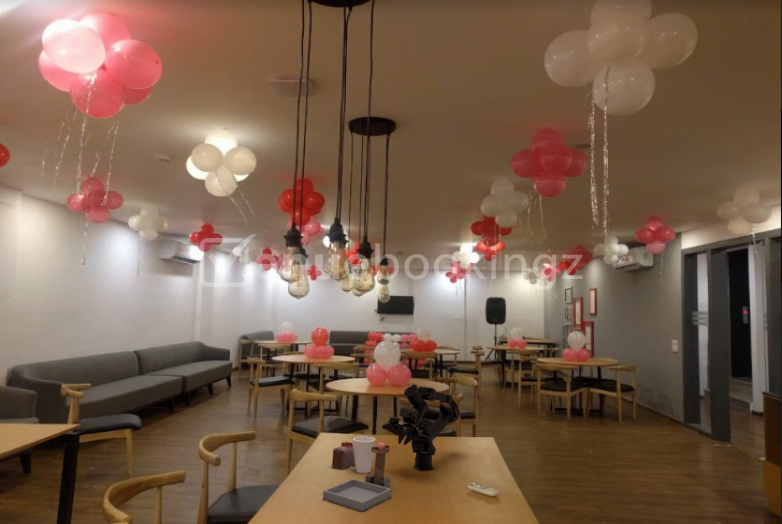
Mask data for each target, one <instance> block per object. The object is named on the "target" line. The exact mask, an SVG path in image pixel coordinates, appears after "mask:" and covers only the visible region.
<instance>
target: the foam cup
mask: <svg viewBox="0 0 782 524" xmlns="http://www.w3.org/2000/svg"><path fill="white" fill-rule="evenodd" d="M352 443H353V448H354V458H355V464H354V467H355V472H356V473H358V474H368V472H369V473H370V472H371V471H372V465H373V461H374V454H375V452H371V447H376V438H375V437H372V436H365V435H363V436H362V435H360V436H355V437H353V438H352Z"/></svg>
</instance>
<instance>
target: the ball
mask: <svg viewBox="0 0 782 524" xmlns="http://www.w3.org/2000/svg"><path fill="white" fill-rule="evenodd" d="M385 445H386V444H385V443H384V442H382V441H381V442H379V443H378V444H377V446H376V447H378V449H379V450H380V449H385Z"/></svg>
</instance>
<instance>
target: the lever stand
mask: <svg viewBox="0 0 782 524" xmlns="http://www.w3.org/2000/svg"><path fill="white" fill-rule="evenodd" d="M373 479H374V473H370V474H368V475H366V476H365V482H368V483H371V484H373ZM391 480H392V479H391V477H387V476H384V478H382V479H380V480H379V486H382V487H386V488H390V489H391Z"/></svg>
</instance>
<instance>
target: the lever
mask: <svg viewBox="0 0 782 524" xmlns="http://www.w3.org/2000/svg"><path fill="white" fill-rule="evenodd" d="M390 448H391V447H390V445H387V444H385V449H380V450H379V449H378V447H377V446H375V447H371V452H374V454H375V461H374V471H373V474H374V479H373V484H375V485H379V480H380V479H382V478H384V477H385V470H386V469H385V468H386V466H385V465H386V457H387V454H390Z"/></svg>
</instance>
